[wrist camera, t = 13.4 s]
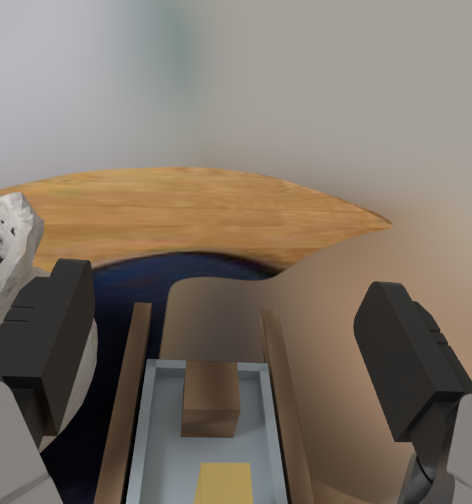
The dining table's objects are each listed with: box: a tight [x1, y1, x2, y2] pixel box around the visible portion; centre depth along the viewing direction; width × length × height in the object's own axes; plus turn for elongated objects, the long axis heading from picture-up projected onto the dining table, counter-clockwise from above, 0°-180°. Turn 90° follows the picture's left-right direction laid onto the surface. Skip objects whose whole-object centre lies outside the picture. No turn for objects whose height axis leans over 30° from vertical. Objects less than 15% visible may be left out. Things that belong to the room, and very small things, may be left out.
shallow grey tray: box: [126, 359, 288, 504], centre depth 32 cm, size 13×18×13 cm
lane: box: [94, 302, 315, 504], centre depth 40 cm, size 18×24×2 cm
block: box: [181, 360, 241, 438], centre depth 37 cm, size 5×5×5 cm
